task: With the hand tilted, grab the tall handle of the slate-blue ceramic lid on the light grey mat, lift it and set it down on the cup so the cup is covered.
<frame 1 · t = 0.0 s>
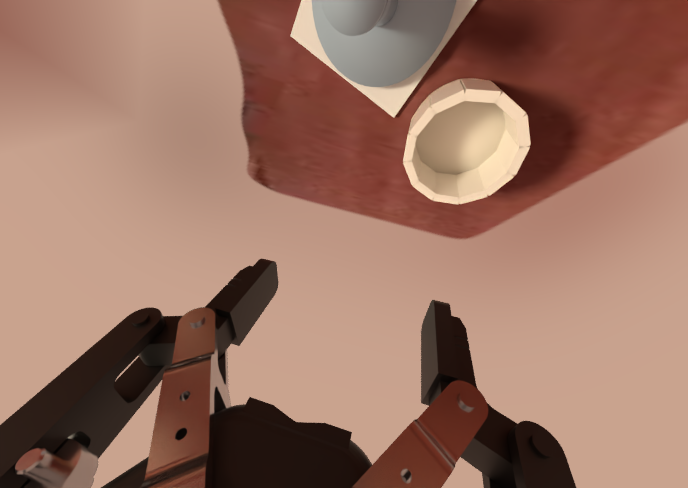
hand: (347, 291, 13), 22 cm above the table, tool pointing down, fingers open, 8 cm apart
mat: (382, 3, 22), on the table
cup: (456, 133, 26), on the table
lid: (382, 3, 21), resting on mat
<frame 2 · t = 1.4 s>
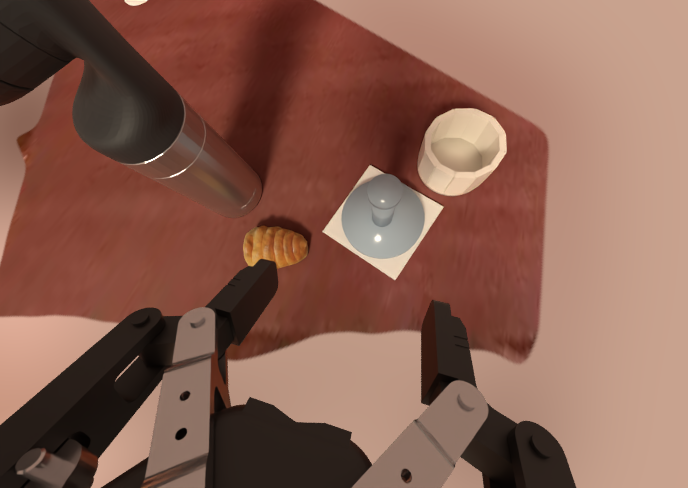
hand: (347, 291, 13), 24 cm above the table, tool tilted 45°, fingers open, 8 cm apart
mat: (381, 220, 37), on the table
cup: (450, 165, 38), on the table
pastry: (276, 248, 39), on the table
lid: (381, 219, 37), resting on mat
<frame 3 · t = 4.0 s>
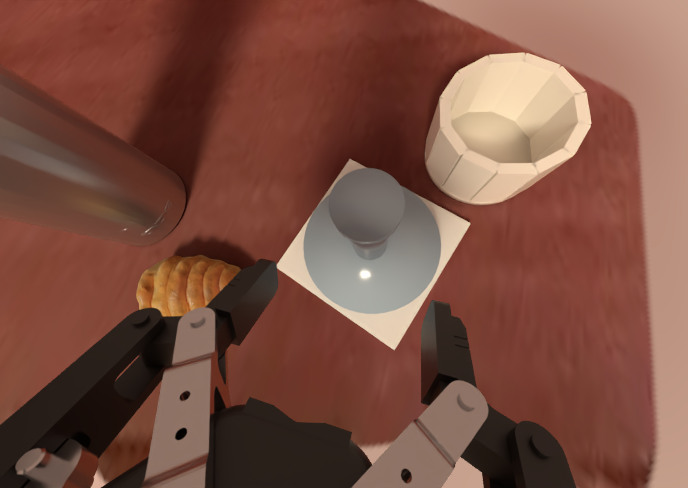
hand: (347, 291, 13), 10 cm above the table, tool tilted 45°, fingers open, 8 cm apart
mat: (370, 246, 23), on the table
cup: (478, 156, 24), on the table
pastry: (204, 288, 25), on the table
lid: (370, 245, 23), resting on mat
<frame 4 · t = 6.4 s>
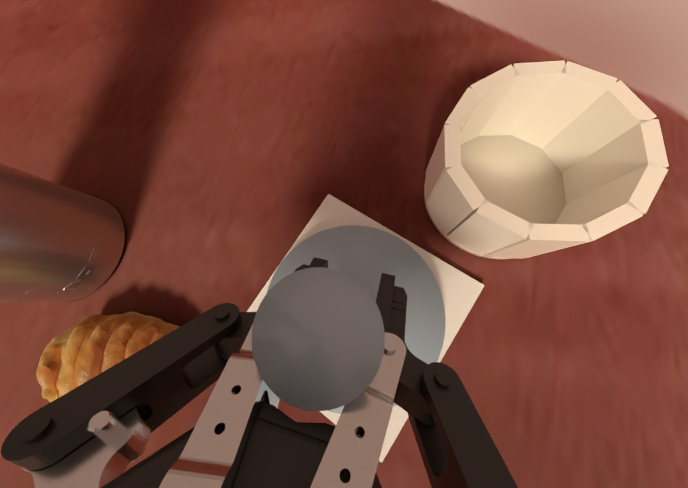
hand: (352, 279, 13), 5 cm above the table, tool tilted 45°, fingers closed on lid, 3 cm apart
mat: (352, 311, 18), on the table
cup: (493, 192, 18), on the table
pastry: (140, 351, 20), on the table
lid: (351, 311, 17), resting on mat, touching gripper
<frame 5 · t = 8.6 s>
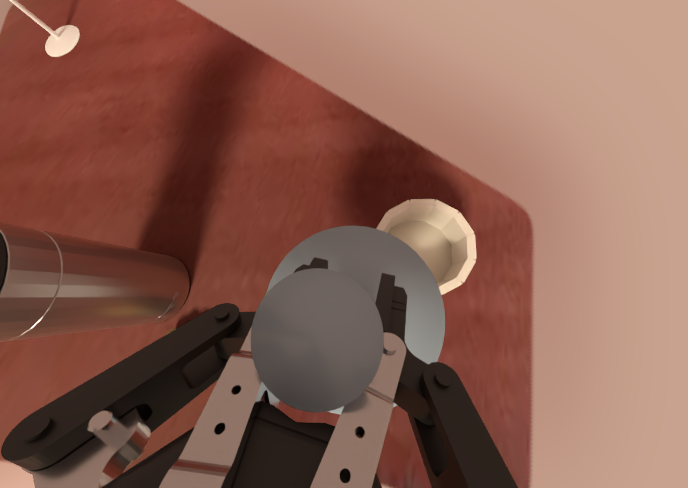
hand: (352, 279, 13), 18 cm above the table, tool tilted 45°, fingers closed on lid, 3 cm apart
cup: (414, 255, 31), on the table
lid: (351, 312, 17), point 13 cm above the table, touching gripper
wineglass: (63, 41, 48), on the table
when the fingers open (12 cm above the table, at t = 10.9 s): lid drops 1 cm, resting on cup.
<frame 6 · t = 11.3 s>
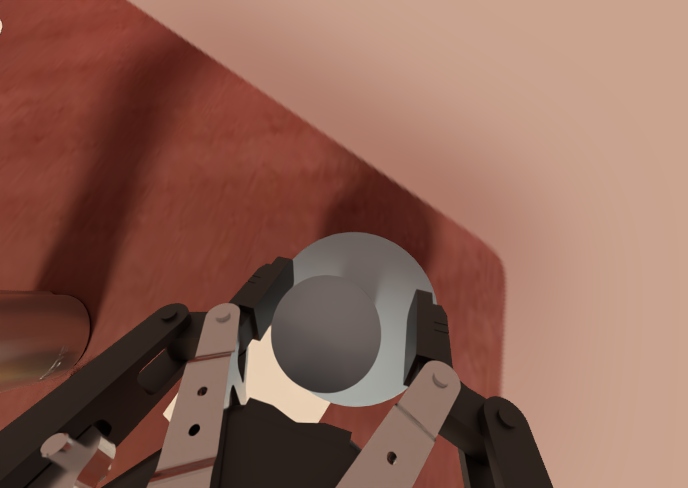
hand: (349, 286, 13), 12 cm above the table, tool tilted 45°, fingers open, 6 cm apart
mat: (252, 397, 24), on the table
lid: (352, 312, 19), point 6 cm above the table, touching cup
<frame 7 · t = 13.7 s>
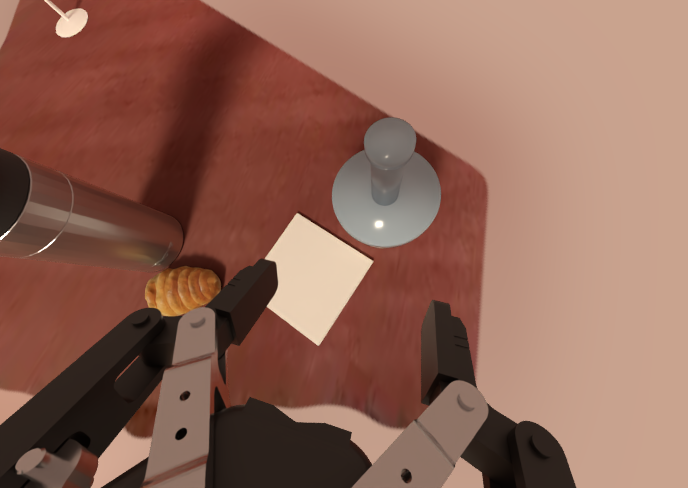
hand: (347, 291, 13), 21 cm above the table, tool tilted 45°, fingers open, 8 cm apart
mat: (307, 275, 34), on the table
pastry: (190, 288, 36), on the table
lid: (384, 197, 29), point 6 cm above the table, touching cup
wineglass: (72, 23, 52), on the table
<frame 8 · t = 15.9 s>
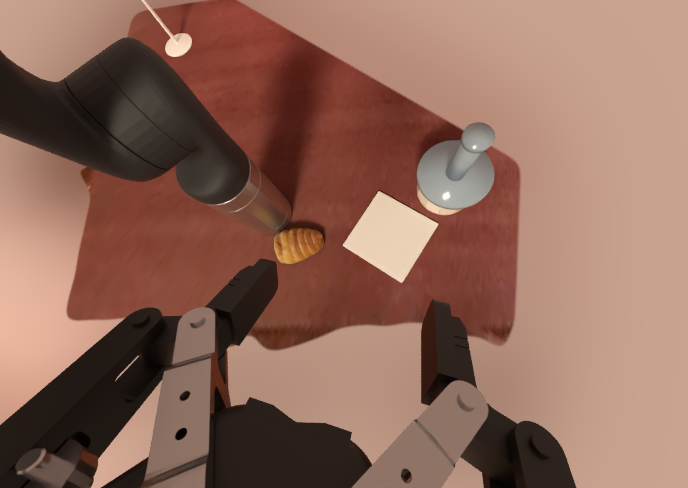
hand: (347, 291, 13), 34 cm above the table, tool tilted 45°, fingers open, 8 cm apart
mat: (389, 235, 47), on the table
cup: (443, 190, 47), on the table
pastry: (298, 245, 49), on the table
lid: (452, 176, 42), point 6 cm above the table, touching cup
wineglass: (179, 45, 65), on the table
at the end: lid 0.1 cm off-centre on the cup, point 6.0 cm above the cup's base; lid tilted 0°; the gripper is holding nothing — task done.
